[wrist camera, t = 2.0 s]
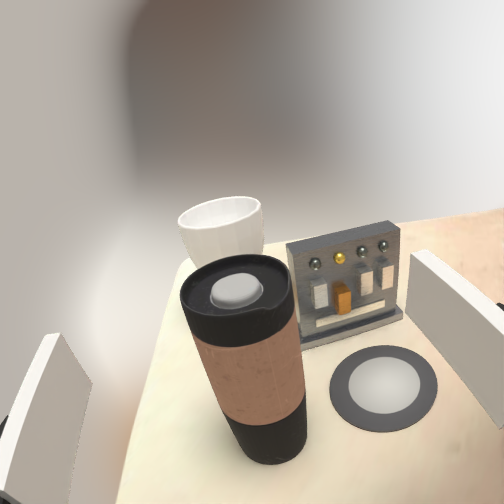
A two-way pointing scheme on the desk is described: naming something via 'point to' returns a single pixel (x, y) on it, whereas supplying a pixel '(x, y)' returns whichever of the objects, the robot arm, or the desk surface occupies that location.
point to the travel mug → (251, 351)
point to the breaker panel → (345, 282)
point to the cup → (222, 229)
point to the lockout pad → (383, 388)
